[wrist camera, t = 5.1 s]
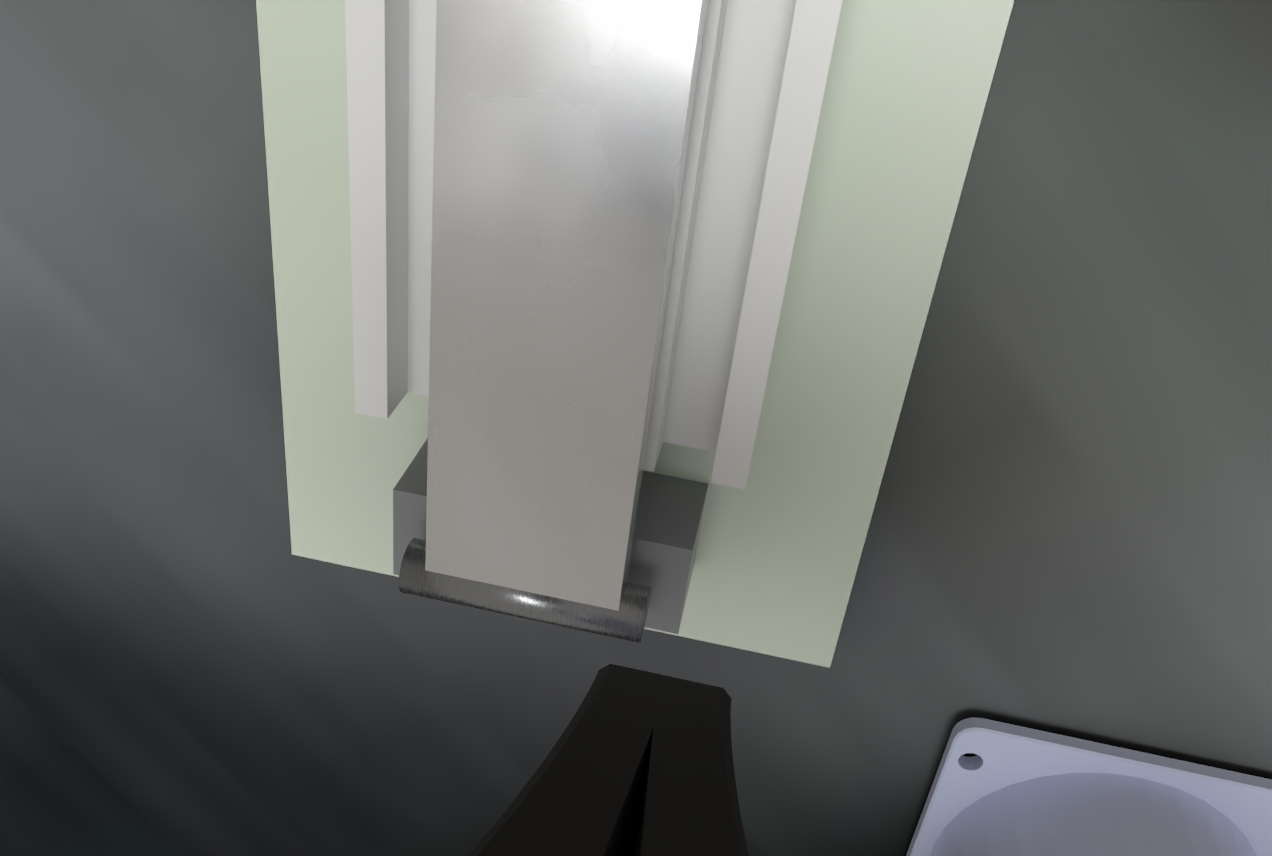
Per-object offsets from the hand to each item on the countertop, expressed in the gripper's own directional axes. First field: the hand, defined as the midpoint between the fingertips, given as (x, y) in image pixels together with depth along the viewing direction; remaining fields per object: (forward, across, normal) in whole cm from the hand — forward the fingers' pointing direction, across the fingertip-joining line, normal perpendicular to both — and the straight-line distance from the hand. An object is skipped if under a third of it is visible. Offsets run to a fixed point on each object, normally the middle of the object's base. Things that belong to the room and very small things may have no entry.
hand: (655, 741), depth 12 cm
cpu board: (+10, +3, -2) cm, 11 cm away
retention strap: (+7, +3, -3) cm, 8 cm away
